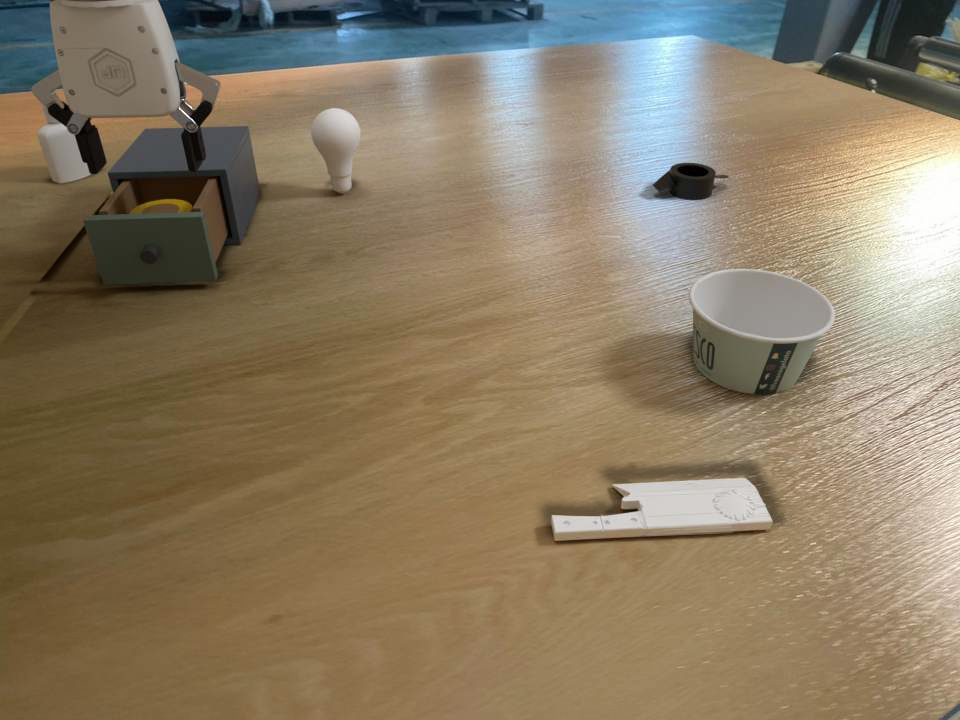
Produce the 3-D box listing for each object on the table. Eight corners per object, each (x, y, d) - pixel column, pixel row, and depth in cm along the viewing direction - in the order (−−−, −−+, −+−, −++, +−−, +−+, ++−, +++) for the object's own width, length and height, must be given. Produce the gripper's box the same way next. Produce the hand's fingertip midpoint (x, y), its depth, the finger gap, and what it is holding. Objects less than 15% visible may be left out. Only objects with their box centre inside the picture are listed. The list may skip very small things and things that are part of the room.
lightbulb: (373, 195, 100) (366, 111, 94) (331, 206, 97) (321, 120, 91) (352, 180, 104) (344, 99, 98) (311, 190, 101) (300, 107, 95)
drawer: (213, 286, 78) (198, 221, 74) (99, 291, 78) (78, 225, 73) (239, 225, 90) (227, 166, 86) (140, 228, 90) (124, 169, 85)
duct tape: (651, 178, 105) (654, 157, 103) (726, 183, 103) (730, 163, 102) (650, 200, 99) (653, 178, 97) (730, 206, 97) (734, 185, 96)
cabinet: (240, 244, 88) (225, 169, 83) (129, 248, 87) (106, 172, 82) (260, 194, 100) (248, 125, 95) (162, 197, 99) (144, 128, 94)
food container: (845, 390, 66) (867, 326, 62) (722, 415, 63) (737, 350, 59) (764, 319, 75) (780, 260, 71) (654, 338, 72) (664, 277, 68)
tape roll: (131, 264, 80) (120, 224, 77) (148, 237, 85) (138, 199, 83) (193, 262, 80) (184, 222, 78) (206, 235, 86) (198, 197, 83)
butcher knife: (544, 488, 56) (545, 477, 55) (745, 480, 57) (748, 469, 56) (554, 541, 52) (555, 529, 51) (770, 531, 52) (774, 520, 52)
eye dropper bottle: (53, 181, 104) (23, 91, 97) (98, 174, 106) (71, 86, 99) (55, 193, 100) (24, 101, 94) (101, 185, 103) (74, 94, 96)
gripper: (-20, -10, 64) (45, 184, 74) (191, -11, 65) (227, 180, 75) (17, -24, 70) (73, 157, 80) (209, -25, 71) (241, 153, 81)
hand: (147, 168), depth 77 cm, fingers open, 9 cm apart
